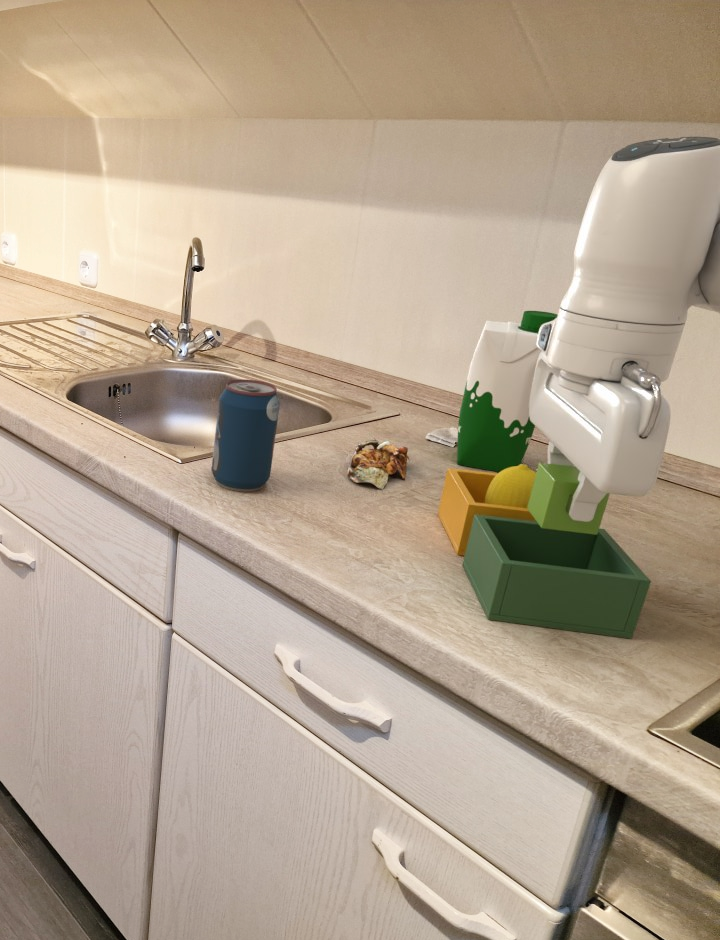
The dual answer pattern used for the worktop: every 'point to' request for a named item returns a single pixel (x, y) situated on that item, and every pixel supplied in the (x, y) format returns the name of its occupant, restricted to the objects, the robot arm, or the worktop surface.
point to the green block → (560, 500)
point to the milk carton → (500, 394)
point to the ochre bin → (470, 505)
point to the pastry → (377, 462)
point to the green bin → (554, 577)
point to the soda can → (245, 435)
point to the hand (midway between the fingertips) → (566, 504)
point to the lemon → (511, 487)
